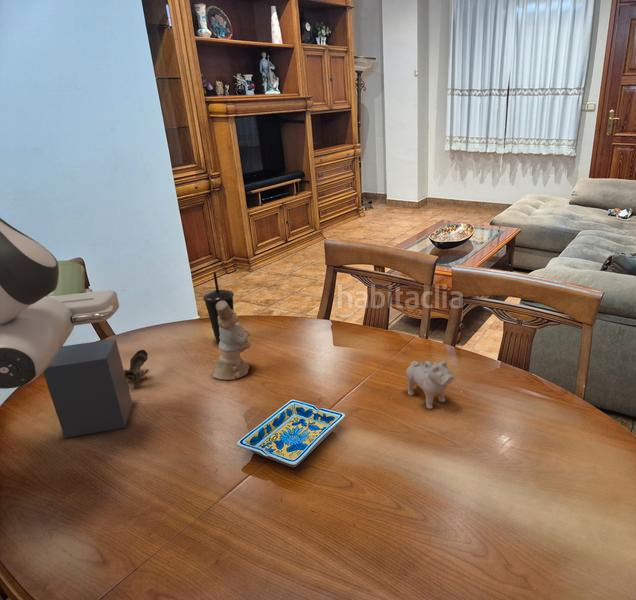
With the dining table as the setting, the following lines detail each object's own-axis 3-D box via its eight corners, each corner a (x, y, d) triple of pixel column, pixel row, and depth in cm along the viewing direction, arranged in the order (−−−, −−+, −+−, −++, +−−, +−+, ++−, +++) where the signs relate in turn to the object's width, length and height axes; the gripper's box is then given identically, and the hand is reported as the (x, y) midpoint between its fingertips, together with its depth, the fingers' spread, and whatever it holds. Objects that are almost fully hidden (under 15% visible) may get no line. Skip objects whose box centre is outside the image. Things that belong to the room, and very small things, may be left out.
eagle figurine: (161, 378, 120) (156, 356, 126) (137, 362, 115) (134, 340, 122) (134, 399, 119) (131, 376, 126) (110, 384, 114) (107, 361, 121)
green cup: (52, 277, 101) (51, 324, 97) (38, 262, 95) (37, 311, 91) (88, 273, 102) (89, 319, 99) (77, 258, 97) (77, 307, 93)
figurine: (231, 385, 118) (218, 306, 111) (207, 376, 122) (193, 299, 115) (260, 369, 125) (249, 293, 118) (236, 360, 129) (224, 287, 122)
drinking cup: (210, 350, 135) (197, 279, 127) (212, 337, 142) (200, 269, 134) (240, 346, 137) (229, 275, 129) (240, 333, 144) (230, 266, 136)
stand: (64, 438, 102) (41, 368, 95) (76, 413, 110) (55, 346, 103) (125, 427, 104) (106, 358, 98) (132, 403, 112) (115, 338, 106)
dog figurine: (441, 418, 105) (442, 373, 101) (402, 391, 115) (401, 349, 110) (459, 408, 108) (461, 364, 104) (420, 383, 118) (420, 342, 113)
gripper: (106, 298, 86) (121, 273, 99) (-37, 315, 81) (-2, 286, 93) (114, 332, 89) (128, 303, 101) (-24, 350, 83) (9, 317, 96)
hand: (65, 295), depth 97 cm, fingers closed on green cup, 6 cm apart
